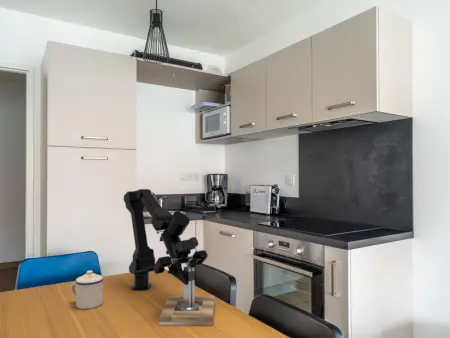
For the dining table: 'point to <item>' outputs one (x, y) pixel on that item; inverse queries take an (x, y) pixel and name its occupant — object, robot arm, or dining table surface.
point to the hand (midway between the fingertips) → (191, 283)
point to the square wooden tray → (188, 312)
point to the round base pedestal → (189, 291)
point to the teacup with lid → (88, 290)
